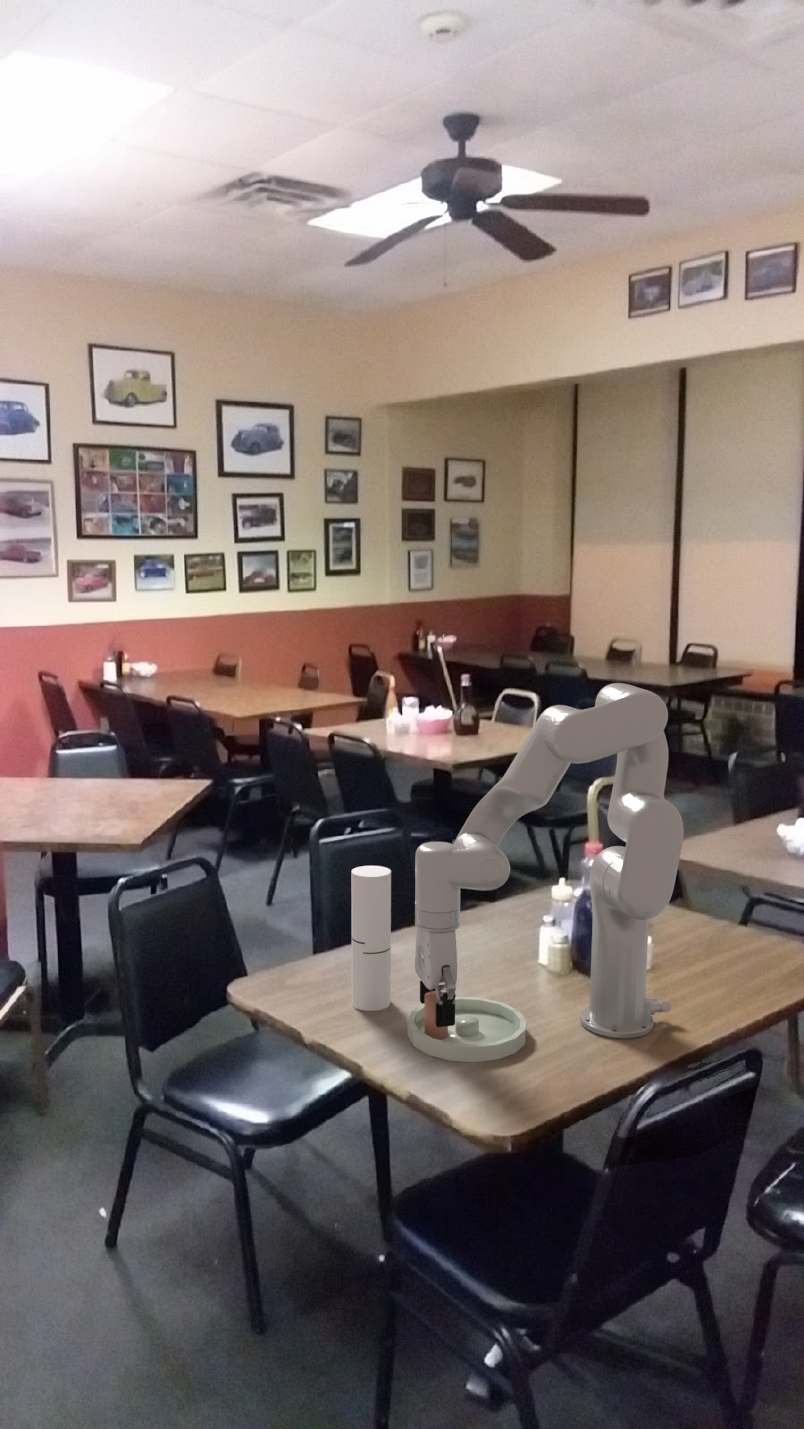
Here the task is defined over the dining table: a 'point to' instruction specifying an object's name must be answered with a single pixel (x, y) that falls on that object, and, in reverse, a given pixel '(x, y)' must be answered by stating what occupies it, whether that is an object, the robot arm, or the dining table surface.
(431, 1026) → the orange cylinder
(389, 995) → the cylindrical container
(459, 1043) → the groove tray
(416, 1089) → the dining table surface
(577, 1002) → the dining table surface
